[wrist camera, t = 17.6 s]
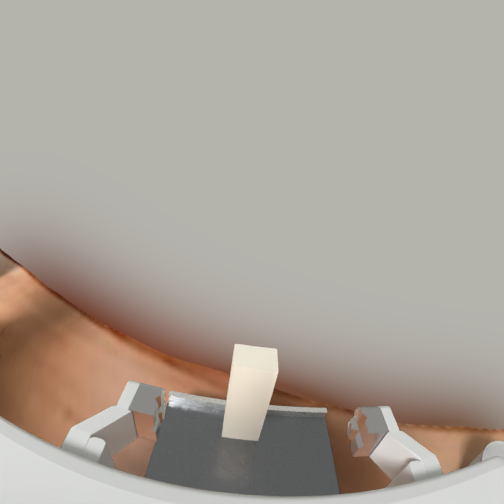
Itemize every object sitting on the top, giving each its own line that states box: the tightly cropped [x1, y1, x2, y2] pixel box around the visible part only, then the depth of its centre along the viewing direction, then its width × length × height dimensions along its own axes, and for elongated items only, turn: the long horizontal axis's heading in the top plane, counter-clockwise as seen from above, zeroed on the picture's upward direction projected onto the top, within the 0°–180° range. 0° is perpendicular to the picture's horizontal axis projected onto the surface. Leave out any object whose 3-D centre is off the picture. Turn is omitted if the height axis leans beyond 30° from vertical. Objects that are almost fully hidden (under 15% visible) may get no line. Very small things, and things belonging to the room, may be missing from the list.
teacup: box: [467, 441, 504, 467], centre depth 24 cm, size 14×11×8 cm
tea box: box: [222, 344, 279, 441], centre depth 35 cm, size 4×5×14 cm
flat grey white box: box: [145, 391, 340, 496], centre depth 34 cm, size 24×17×5 cm
